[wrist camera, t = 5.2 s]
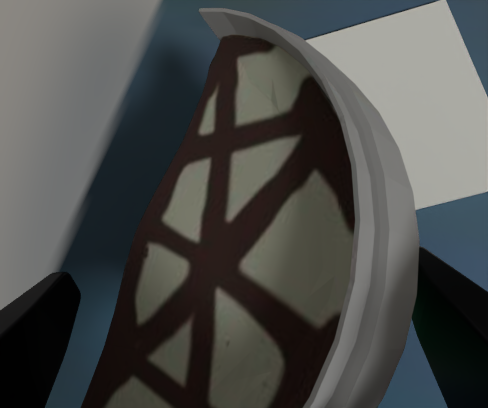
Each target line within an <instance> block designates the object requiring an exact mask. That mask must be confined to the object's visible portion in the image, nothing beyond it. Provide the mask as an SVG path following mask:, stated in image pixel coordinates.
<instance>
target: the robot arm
mask: <svg viewBox="0 0 488 408" xmlns="http://www.w3.org/2000/svg"><path fill="white" fill-rule="evenodd" d="M80 299H81V293H80V290H79V289H78V287H77V285H76V284H75V282H74V280H73V279H72V277H71V275H70V274H69V273H67V272H56V273H52V274H50V275H48V276H47V277H46V278H44V279H43V280H42V281H40V282H39V283H37V284H36V285H35V286H33V287H32V288H31V289H29V290H28V291H26V292H25V293H24V294H23V295H21V296H20V297H18V298H17V299H15V300H14V301H13V302H11V303H10V304H8V305H7V306H6V307H4V308H3V309H2V310H0V408H45V405H46V403H47V400H48V398H49V395H50V392H51V390H52V387H53V385H54V382H55V379H56V377H57V374H58V372H59V369H60V366H61V364H62V361H63V359H64V356H65V353H66V350H67V347H68V343H69V340H70V336H71V333H72V329H73V325H74V322H75V318H76V314H77V311H78V307H79V303H80ZM412 321H413V324H414V327H415V330H416V333H417V336H418V339H419V341H420V344H421V346H422V348H423V351H424V353H425V355H426V358H427V360H428V362H429V365H430V367H431V369H432V372H433V374H434V376H435V379H436V381H437V383H438V386H439V388H440V390H441V393H442V395H443V397H444V400H445V402H446V404H447V407H448V408H488V292H487V291H486V290H484V289H483V288H481V287H480V286H479V285H477V284H476V283H474V282H473V281H471V280H470V279H468V278H467V277H466V276H464V275H463V274H461V273H460V272H458V271H457V270H455V269H454V268H453V267H451V266H450V265H448V264H447V263H445V262H444V261H442V260H441V259H440V258H438V257H437V256H435V255H434V254H432V253H431V252H429V251H428V250H427V249H425V248H423V247H421V246H419V261H418V281H417V296H416V301H415V305H414V309H413V314H412Z"/></svg>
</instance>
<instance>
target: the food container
mask: <svg viewBox="0 0 488 408" xmlns="http://www.w3.org/2000/svg"><path fill="white" fill-rule="evenodd" d="M199 13H200V14H201V15H202V17H203V18H204V19H205V21H206V22H207V24H208V25H209V26H210V28H211V29H212V30H213V32H214V33H215V34H216V36H217V37H218V39H219V40H220V41H221V42H220V44H219V47H218V49H217V52H216V55H215V57H214V58H213V60H212V62H211V64H210V67H209V72H208V77H207V80H206V83H205V87H204V90H203V93H202V96H201V98H200V101H199V103H198V106H197V108H196V110H195V113H194V115H193V118H192V120H191V122H190V125H189V127H188V130H187V132H186V134H185V137H184V139H183V142H182V143H181V145H180V147H179V149H178V151H177V153H176V154H175V156H174V158H173V160H172V162H171V164H170V166H169V167H168V169H167V171H166V173H165V175H164V177H163V178H162V180H161V182H160V184H159V186H158V188H157V190H156V191H155V193H154V195H153V197H152V199H151V201H150V203H149V205H148V207H147V209H146V211H145V213H144V215H143V217H142V219H141V221H140V223H139V225H138V228H137V230H136V233H135V235H134V239H133V242H132V246H131V249H130V253H129V256H128V259H127V262H126V266H125V270H124V274H123V278H122V282H121V286H120V291H119V295H118V299H117V303H116V307H115V311H114V315H113V318H112V322H111V325H110V328H109V332H108V335H107V339H106V342H105V345H104V349H103V351H102V354H101V356H100V359H99V362H98V364H97V367H96V370H95V372H94V375H93V377H92V380H91V383H90V385H89V388H88V391H87V393H86V396H85V398H84V401H83V403H82V406H81V408H377V407H378V405H379V404H380V402H381V401H382V399H383V397H384V395H385V393H386V390H387V388H388V386H389V383H390V381H391V379H392V376H393V374H394V372H395V369H396V367H397V365H398V362H399V360H400V358H401V355H402V353H403V351H404V348H405V344H406V340H407V335H408V331H409V327H410V322H411V318H412V314H413V309H414V305H415V301H416V296H417V281H418V261H419V234H418V226H417V219H416V211H415V203H414V195H413V190H412V187H411V184H410V181H409V178H408V175H407V172H406V169H405V165H404V162H403V159H402V156H401V153H400V150H399V147H398V146H397V144H396V142H395V140H394V138H393V137H392V135H391V133H390V131H389V129H388V127H387V126H386V124H385V122H384V120H383V118H382V117H381V115H380V113H379V112H378V110H377V109H376V108H375V107H374V106H373V104H372V103H371V102H370V101H369V100H368V99H367V97H366V96H365V95H364V94H363V93H362V91H361V90H360V89H359V88H358V87H357V86H356V84H355V83H354V82H352V81H351V80H350V79H349V78H348V77H347V76H346V75H345V74H344V73H343V72H342V71H341V70H339V69H338V68H337V67H336V66H335V65H334V64H333V63H332V62H331V61H330V60H329V59H327V58H326V57H325V56H324V55H323V54H321V53H320V52H319V51H317V50H316V49H315V48H314V47H312V46H311V45H310V44H309V43H307V42H306V41H305V40H304V39H302V38H301V37H299V36H297V35H295V34H293V33H291V32H289V31H287V30H285V29H282V28H280V27H278V26H276V25H274V24H271V23H269V22H267V21H265V20H262V19H260V18H258V17H256V16H254V15H252V14H249V13H244V12H239V11H235V10H230V9H225V8H200V9H199Z"/></svg>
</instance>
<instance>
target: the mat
mask: <svg viewBox="0 0 488 408" xmlns="http://www.w3.org/2000/svg"><path fill="white" fill-rule="evenodd" d="M305 41H306V42H307V43H309V44H310V45H311V46H312V47H314V48H315V49H316V50H317V51H319V52H320V53H321V54H323V55H324V56H325V57H326V58H327V59H329V60H330V61H331V62H332V63H333V64H334V65H335V66H336V67H337V68H338V69H339V70H341V71H342V72H343V73H344V74H345V75H346V76H347V77H348V78H349V79H350V80H351V81H352V82H354V83H355V84H356V86H357V87H358V88H359V89H360V90H361V91H362V93H363V94H364V95H365V96H366V97H367V99H368V100H369V101H370V102H371V103H372V104H373V106H374V107H375V108H376V109H377V110H378V112H379V113H380V115H381V117H382V118H383V120H384V122H385V124H386V126H387V127H388V129H389V131H390V133H391V135H392V137H393V138H394V140H395V142H396V144H397V146H398V147H399V150H400V153H401V156H402V159H403V162H404V165H405V169H406V172H407V175H408V178H409V181H410V184H411V187H412V190H413V195H414V203H415V210H417V209H421V208H425V207H429V206H433V205H437V204H441V203H445V202H449V201H453V200H457V199H461V198H465V197H469V196H472V195H476V194H480V193H484V192H488V97H487V95H486V93H485V91H484V88H483V86H482V84H481V81H480V79H479V77H478V74H477V72H476V70H475V67H474V65H473V63H472V60H471V58H470V56H469V53H468V51H467V49H466V46H465V44H464V42H463V39H462V37H461V35H460V32H459V30H458V28H457V25H456V23H455V21H454V18H453V16H452V14H451V11H450V9H449V7H448V4H447V2H446V0H440V1H437V2H434V3H430V4H427V5H424V6H420V7H417V8H413V9H410V10H407V11H403V12H400V13H397V14H393V15H390V16H386V17H383V18H380V19H376V20H373V21H370V22H366V23H363V24H359V25H356V26H353V27H349V28H346V29H343V30H339V31H336V32H332V33H329V34H326V35H322V36H319V37H316V38H312V39H309V40H305Z"/></svg>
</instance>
